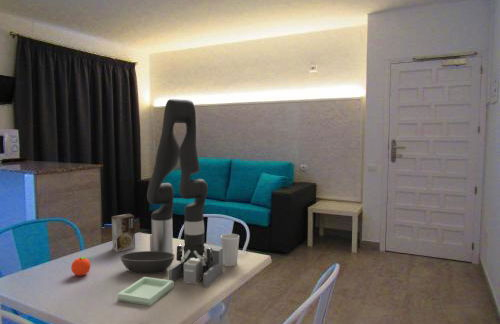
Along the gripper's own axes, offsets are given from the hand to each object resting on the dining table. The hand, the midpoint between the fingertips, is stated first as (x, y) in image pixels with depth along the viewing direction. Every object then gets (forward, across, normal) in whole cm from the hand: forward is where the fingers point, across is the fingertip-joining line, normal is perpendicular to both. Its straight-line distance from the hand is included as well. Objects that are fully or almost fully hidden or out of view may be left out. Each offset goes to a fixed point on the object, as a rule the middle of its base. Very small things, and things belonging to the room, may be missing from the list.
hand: (194, 272), depth 144 cm
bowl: (+3, -22, +2) cm, 22 cm away
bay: (+2, 0, +1) cm, 3 cm away
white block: (+3, 0, 0) cm, 3 cm away
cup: (+3, +7, +20) cm, 21 cm away
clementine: (+3, -44, -10) cm, 45 cm away
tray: (+3, -10, -17) cm, 20 cm away
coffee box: (+2, -49, +23) cm, 54 cm away
